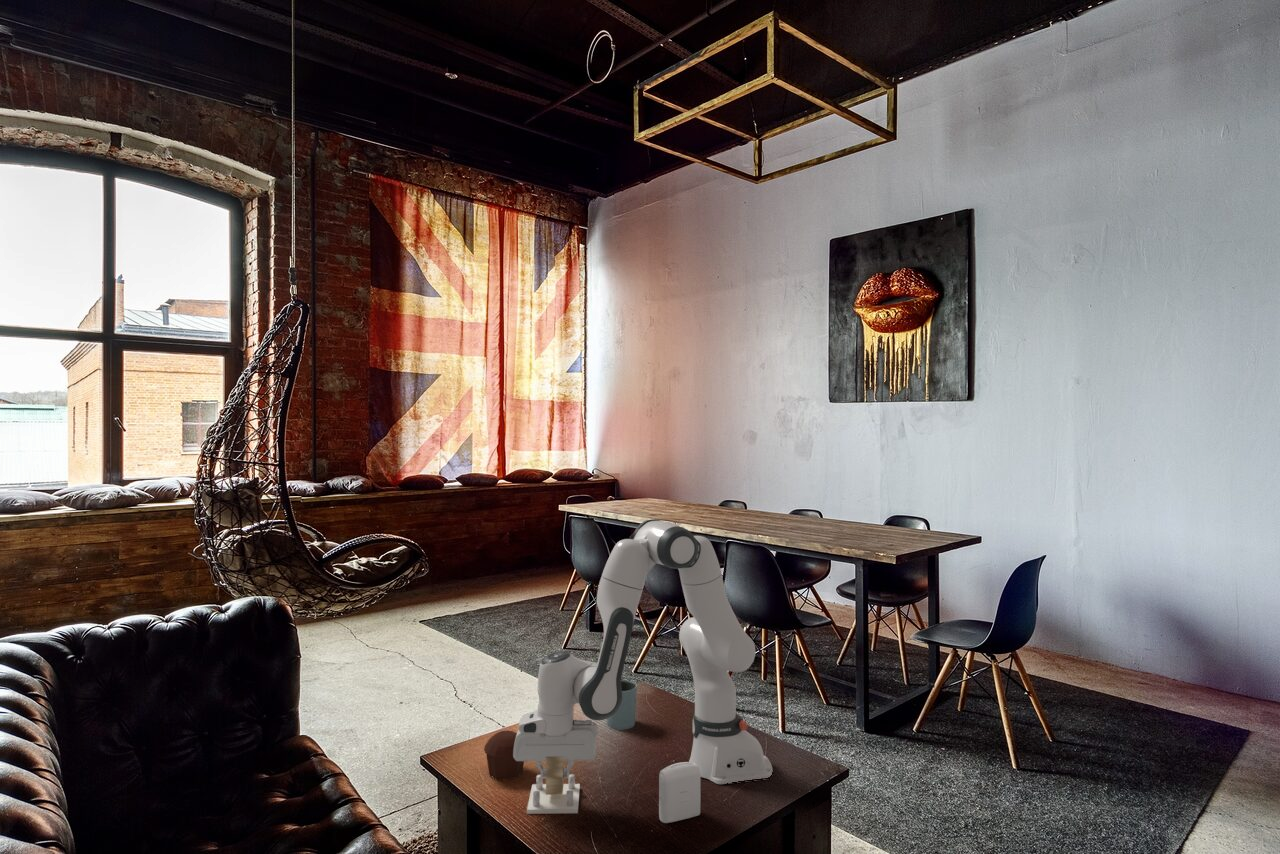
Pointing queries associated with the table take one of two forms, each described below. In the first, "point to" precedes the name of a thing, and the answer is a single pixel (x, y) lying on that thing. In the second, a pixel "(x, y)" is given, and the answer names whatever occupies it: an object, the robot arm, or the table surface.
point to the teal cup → (625, 708)
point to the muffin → (502, 756)
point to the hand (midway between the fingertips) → (554, 777)
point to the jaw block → (554, 775)
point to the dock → (554, 798)
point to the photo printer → (679, 792)
